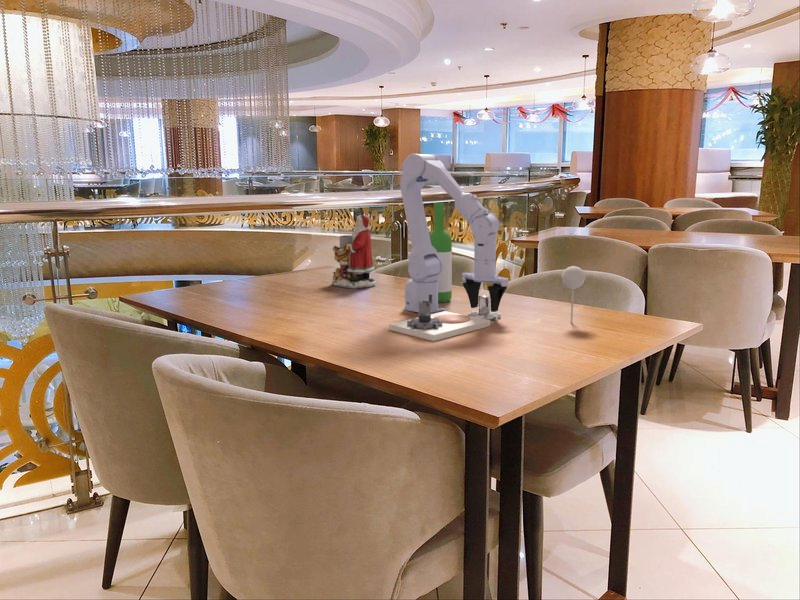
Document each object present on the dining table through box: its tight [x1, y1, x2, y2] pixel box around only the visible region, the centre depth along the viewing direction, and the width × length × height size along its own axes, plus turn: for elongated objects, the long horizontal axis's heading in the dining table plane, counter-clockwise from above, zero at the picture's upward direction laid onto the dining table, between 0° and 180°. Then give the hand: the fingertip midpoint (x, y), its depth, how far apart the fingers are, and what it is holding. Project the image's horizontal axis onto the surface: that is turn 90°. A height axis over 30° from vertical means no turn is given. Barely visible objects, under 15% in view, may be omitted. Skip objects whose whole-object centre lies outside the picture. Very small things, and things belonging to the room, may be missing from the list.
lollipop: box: [560, 265, 587, 324], centre depth 169 cm, size 6×6×15 cm
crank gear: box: [407, 294, 442, 330], centre depth 162 cm, size 9×9×8 cm
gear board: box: [388, 310, 491, 342], centre depth 166 cm, size 16×21×2 cm
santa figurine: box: [331, 214, 377, 290], centre depth 226 cm, size 17×14×25 cm
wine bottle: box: [429, 202, 453, 304], centre depth 197 cm, size 8×8×30 cm
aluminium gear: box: [467, 294, 502, 322], centre depth 176 cm, size 9×9×6 cm
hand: (484, 309), depth 176 cm, fingers open, 6 cm apart
